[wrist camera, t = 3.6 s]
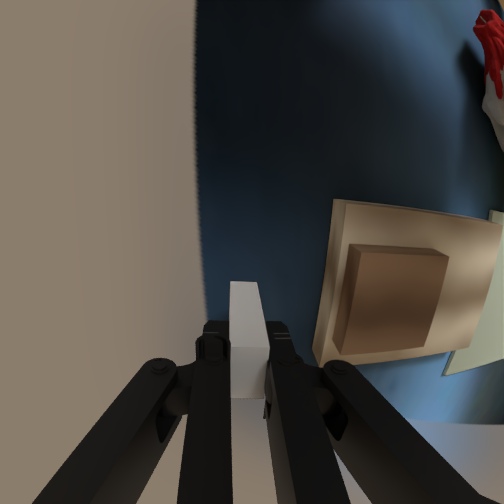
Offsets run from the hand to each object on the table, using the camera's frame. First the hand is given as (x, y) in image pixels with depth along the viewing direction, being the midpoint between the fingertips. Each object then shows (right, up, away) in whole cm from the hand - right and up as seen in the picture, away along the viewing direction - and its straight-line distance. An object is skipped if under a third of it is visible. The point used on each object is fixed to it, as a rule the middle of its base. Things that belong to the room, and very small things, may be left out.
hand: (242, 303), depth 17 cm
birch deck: (+14, +1, +5) cm, 15 cm away
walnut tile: (+10, 0, +2) cm, 10 cm away
